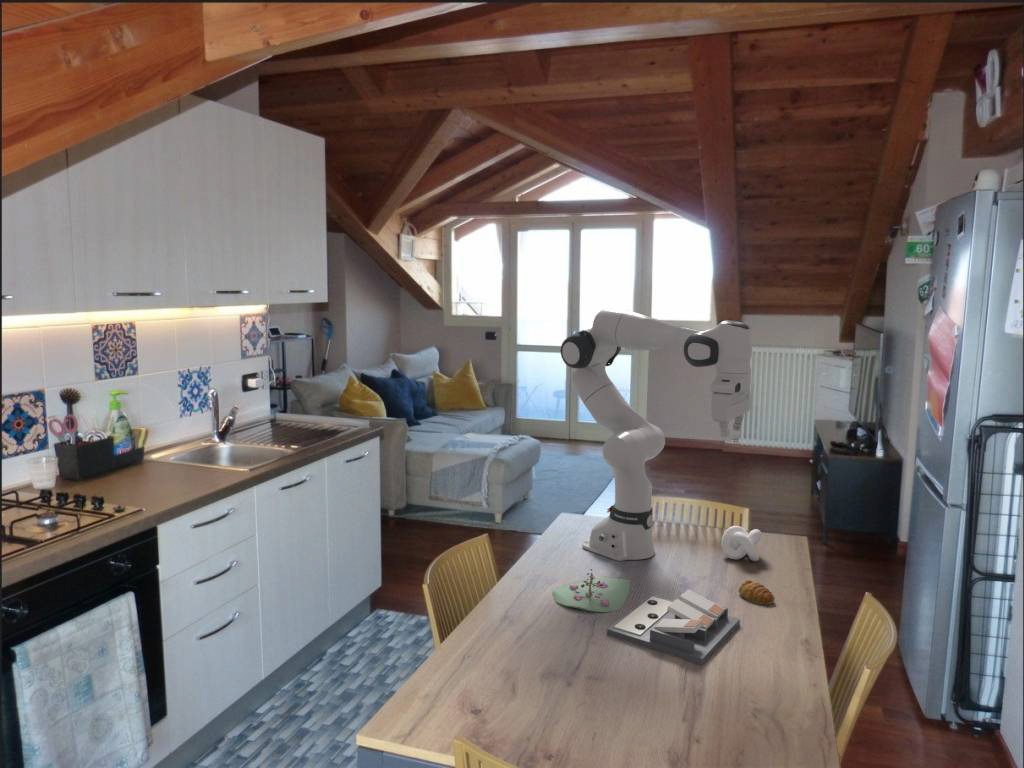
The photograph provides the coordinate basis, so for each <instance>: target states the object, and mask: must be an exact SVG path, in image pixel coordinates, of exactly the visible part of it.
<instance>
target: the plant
mask: <svg viewBox="0 0 1024 768" xmlns="http://www.w3.org/2000/svg"><path fill="white" fill-rule="evenodd" d="M589 570H590V572H591V573H589V572H587V573H586V575H587V576H588V578H587V579H586V580H580V581H576V582H570V583H565V584H563V585H561V586H557V587H556V588H554V589H553V590H552V597H553V599H554V601H555V602H556V603H557V604H559V605H562V606H564V607H569V608H573V609H577V610H583V611H587V612H592V613H604V614H605V613H611V612H614V611H618V610H619V609H621V608H623V606H624V603H625V602H626V599H627V598H628V594H629V591H630V586H631V581H630V580H627V579H621V578H613V577H595V575H594V574H593V569H592V568H590V569H589ZM589 575H590V576H589ZM595 578H596V579H595Z"/></svg>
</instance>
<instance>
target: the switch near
mask: <svg viewBox="0 0 1024 768" xmlns="http://www.w3.org/2000/svg"><path fill="white" fill-rule="evenodd" d="M702 625H703V621H702V620H696V619H662V620H661V621H660V622H659V623H658V624H657V625H656V626H654V629H655V630H658V631H662V632H679V633H695V632H696V631H697V630H698V629H699V628H700V627H701V626H702Z"/></svg>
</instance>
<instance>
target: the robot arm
mask: <svg viewBox="0 0 1024 768" xmlns="http://www.w3.org/2000/svg"><path fill="white" fill-rule="evenodd" d="M666 348H668V349H669V348H671V349H673V348H675V349H681V350H683V355H684V358H685V360H686V361H687V363H688V364H689V365H690V366H692V367H696V368H700V369H702V368H708V367H709V368H710V367H715V368H716V370H715V371H716V372H715V373H716V374H715V375H716V376H715V377H714V379H713V381H712V382H711V384H710V386H709V390H710V392H711V393H712V395H711V418H712V421H713V422H716V423H717V422H718V426H719V428H720V429H719V430H720V437H721V438H728V437H729V436H730V429H729V424H730V421H732V420H734V423H733V425H732V427H733V431H736V432H740V431H741V430H742V424H743V420H744V415H745V414H746V413H748V412H750V410H751V399H752V398H751V397H752V396H751V378H752V368H751V359H752V354H753V337H752V330H751V327H750V326H749V325H748V324H746V323H745V322H742V321H738V320H731V319H730V320H729V319H727V320H723V321H721V322H720V323H719V324H717V325H715V326H713V327H711V328H709V329H706V330H700V329H696V328H691V327H685V326H681V325H676V324H672V323H669V322H666V321H663V320H659V319H657V318H655V317H651V316H648V315H646V314H642V313H639V312H636V311H631V310H627V309H626V310H625V309H619V308H607V309H606V308H605V309H602V310H600V311H598V313H596V315H595V316H594V319H593V322H592V327H591V328H589V329H586V330H584V329H583V330H579V331H578V332H575V333H573V334H571V335H569V336H568V337H567V338H566V339H564V340H563V341H562V343H561V346H560V356H561V359H562V361H563V362H564V364H565V365H566V366H568V367H570V368H571V369H574V370H573V371H572V373H571V377H570V378H571V382H572V385H573V386H574V389H575V391H576V393H577V395H578V396H579V398H580V400H581V402H582V403H583V404H584V406H585V407H586V410H588V412H589V414H590V415H591V417H592V418H593V420H594V421H595V422H596V424H598V425H599V426H600V427H601V428H604V429H605V430H608V431H609V432H610V433H611V434H612V435H611V436H609V438H607V439H606V441H605V442H604V443H603V446H602V456H603V459H604V460H605V462H606V463H607V464H608V465H609V467H610V468H611V471H612V474H613V480H614V503H613V505H610V506H609V508H606V513H609V516H607V517H605V518H603V519H602V520H601V521H599V522H597V523H596V524H595V525H594V526H592V527H593V528H592V529H591V530H590V531H591V532H590V536H589V537H587V539H585V540H584V541H583V542H582V549H585V550H587V551H590V552H592V553H595V554H598V555H601V556H603V557H606V558H608V559H612V560H614V561H618V562H619V561H620V562H621V561H627V560H629V561H630V560H632V561H633V560H635V561H636V560H644V559H645V560H646V559H650V558H652V557H653V556H655V554H656V551H655V545H654V541H653V535H652V533H653V531H652V526H653V520H654V519H653V511H654V510H653V507H652V495H653V494H652V493H653V492H652V491H653V483H652V482H651V480H650V479H649V478H648V476H647V474H646V473H647V472H646V469H645V463H646V462H647V461H650V460H652V459H654V458H655V457H657V456H658V455H659V454H660V453H661V452H662V451H663V450H664V447H665V445H666V437H665V434H664V432H663V431H662V429H661V428H660V427H659V426H656V425H654V424H652V423H651V422H649V421H647V420H646V419H645V418H644V417H642V416H641V415H640V414H639V413H638V412H637V411H636V410H635V409H633V407H631V405H630V404H629V403H628V402H627V401H626V398H624V397H623V395H622V394H621V392H620V391H619V390H618V389H617V386H616V385H615V384H614V383H613V381H612V380H611V378H610V377H609V376H608V373H607V372H606V371H607V370H606V367H610V366H611V365H612V364H613V363H614V361H615V359H616V358H617V356H618V355H619V353H620V352H621V350H622V349H624V350H629V351H630V350H631V351H639V352H641V351H643V352H644V351H651V350H658V349H666Z"/></svg>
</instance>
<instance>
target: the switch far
mask: <svg viewBox="0 0 1024 768" xmlns="http://www.w3.org/2000/svg"><path fill="white" fill-rule="evenodd" d="M678 600H680V601H682V602H684V603H686V604H687V605H689V606H691V607H693V608H695V609H696V610H698V611H700V612H702V613H704V614H706V615H707V616H710V617H714V618H717V619H718V618H719V617H720V616H721V615H722V614H723V613H724V610H725V609H724V608H723V607H724V606H722V607H721V605H718V604H717V603H715V602H713V601H711V600H709V599H708V598H705V597H704V596H702V595H700V594H698V593H697V592H694V591H693V590H691V589H689V588H688V589H687V590H685V591H684V592H683V593H682V594H680V596H679V599H678Z"/></svg>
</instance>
